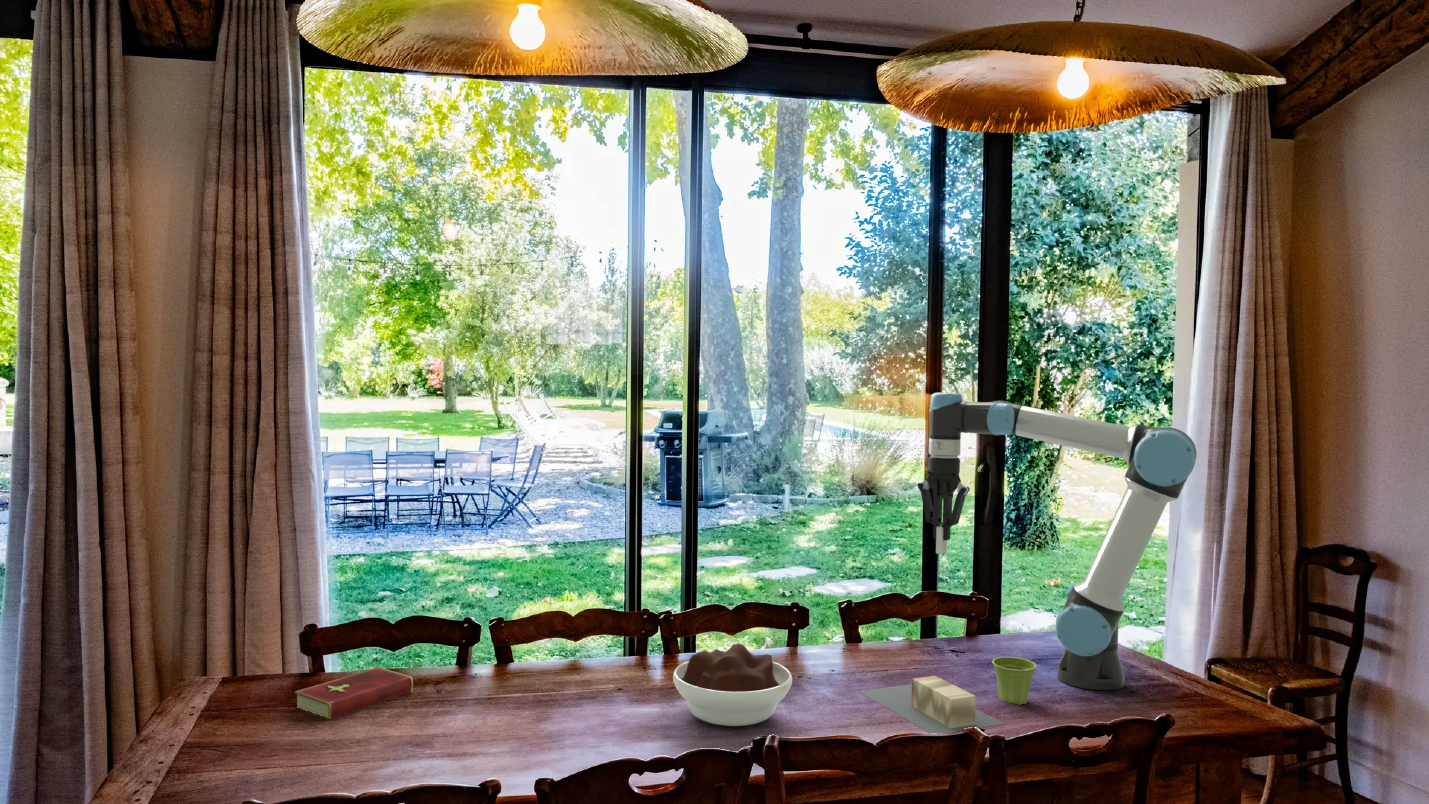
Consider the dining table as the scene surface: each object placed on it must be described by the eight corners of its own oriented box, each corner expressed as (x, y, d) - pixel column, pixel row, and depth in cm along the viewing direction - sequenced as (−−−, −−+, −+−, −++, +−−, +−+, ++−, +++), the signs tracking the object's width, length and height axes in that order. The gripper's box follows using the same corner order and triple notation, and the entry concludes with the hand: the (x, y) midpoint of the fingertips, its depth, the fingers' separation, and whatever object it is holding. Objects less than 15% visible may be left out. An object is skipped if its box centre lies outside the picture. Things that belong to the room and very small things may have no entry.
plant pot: (1037, 710, 213) (1038, 671, 213) (992, 706, 215) (994, 667, 215) (1032, 696, 222) (1033, 658, 222) (989, 692, 224) (990, 655, 224)
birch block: (911, 678, 212) (951, 699, 200) (934, 675, 215) (975, 695, 202) (911, 705, 213) (950, 728, 200) (933, 702, 215) (974, 724, 202)
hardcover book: (413, 694, 216) (413, 676, 216) (329, 722, 199) (329, 702, 198) (378, 683, 223) (378, 665, 222) (294, 710, 205) (294, 690, 205)
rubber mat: (858, 693, 222) (858, 691, 221) (924, 684, 229) (924, 682, 229) (932, 738, 196) (933, 735, 196) (1004, 726, 203) (1004, 723, 203)
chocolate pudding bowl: (796, 741, 193) (798, 666, 192) (669, 739, 192) (671, 663, 192) (786, 698, 218) (787, 631, 217) (674, 696, 217) (675, 629, 217)
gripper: (912, 455, 237) (909, 551, 238) (962, 459, 229) (959, 559, 230) (927, 453, 243) (924, 547, 244) (976, 457, 235) (973, 554, 236)
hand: (941, 553), depth 237 cm, fingers closed
